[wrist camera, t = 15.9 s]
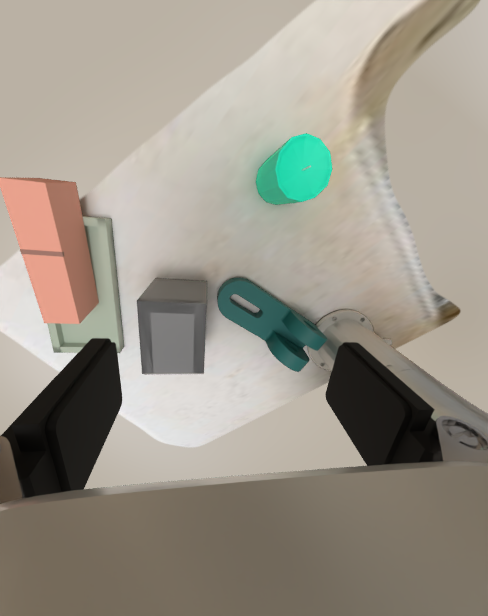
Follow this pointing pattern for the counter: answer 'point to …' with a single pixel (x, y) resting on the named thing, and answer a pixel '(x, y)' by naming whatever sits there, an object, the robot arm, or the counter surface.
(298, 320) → the bracket
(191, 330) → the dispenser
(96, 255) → the tray
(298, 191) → the candle
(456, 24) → the counter surface
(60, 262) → the terracotta pink bar
